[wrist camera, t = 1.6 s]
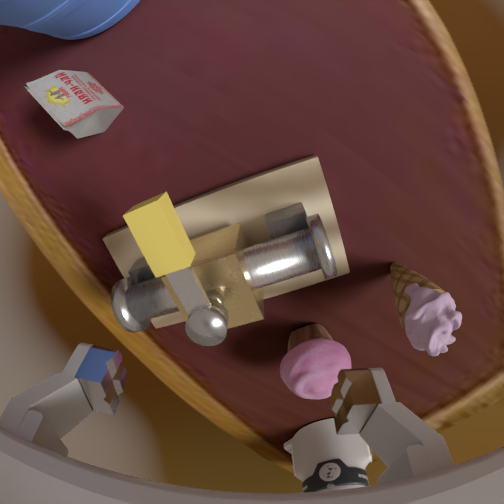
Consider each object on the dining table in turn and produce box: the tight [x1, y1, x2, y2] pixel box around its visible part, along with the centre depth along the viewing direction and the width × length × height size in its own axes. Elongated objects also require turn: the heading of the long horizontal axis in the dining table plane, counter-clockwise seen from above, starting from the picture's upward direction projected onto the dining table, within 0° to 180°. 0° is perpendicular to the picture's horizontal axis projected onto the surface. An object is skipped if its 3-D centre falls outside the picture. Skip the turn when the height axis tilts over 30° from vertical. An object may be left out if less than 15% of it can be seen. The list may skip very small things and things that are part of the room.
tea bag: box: [24, 70, 124, 139], centre depth 24 cm, size 4×7×10 cm, turn 43°
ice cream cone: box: [390, 262, 462, 356], centre depth 30 cm, size 7×6×15 cm
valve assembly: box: [103, 155, 350, 333], centre depth 31 cm, size 14×26×12 cm, turn 110°
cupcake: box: [280, 324, 351, 399], centre depth 37 cm, size 9×9×10 cm
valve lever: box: [123, 192, 229, 346], centre depth 23 cm, size 12×3×2 cm, turn 21°
